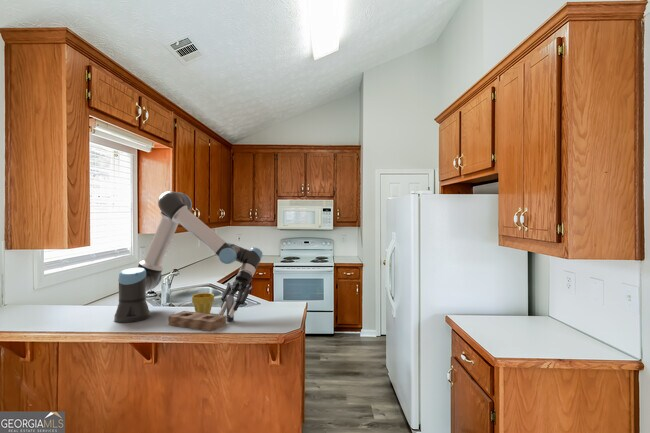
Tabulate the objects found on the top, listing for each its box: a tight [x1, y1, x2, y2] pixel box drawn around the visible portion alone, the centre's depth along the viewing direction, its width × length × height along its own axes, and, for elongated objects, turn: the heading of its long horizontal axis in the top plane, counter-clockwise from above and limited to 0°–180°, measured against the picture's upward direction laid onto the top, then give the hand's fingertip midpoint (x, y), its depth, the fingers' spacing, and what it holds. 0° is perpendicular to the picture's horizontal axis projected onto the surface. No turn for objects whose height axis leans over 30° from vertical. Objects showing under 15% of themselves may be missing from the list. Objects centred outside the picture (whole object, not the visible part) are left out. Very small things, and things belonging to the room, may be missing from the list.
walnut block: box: [167, 310, 227, 332], centre depth 168 cm, size 24×10×4 cm, turn 69°
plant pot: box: [191, 292, 215, 314], centre depth 185 cm, size 10×10×10 cm
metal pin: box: [226, 294, 235, 323], centre depth 175 cm, size 3×3×12 cm
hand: (225, 315), depth 171 cm, fingers open, 4 cm apart
